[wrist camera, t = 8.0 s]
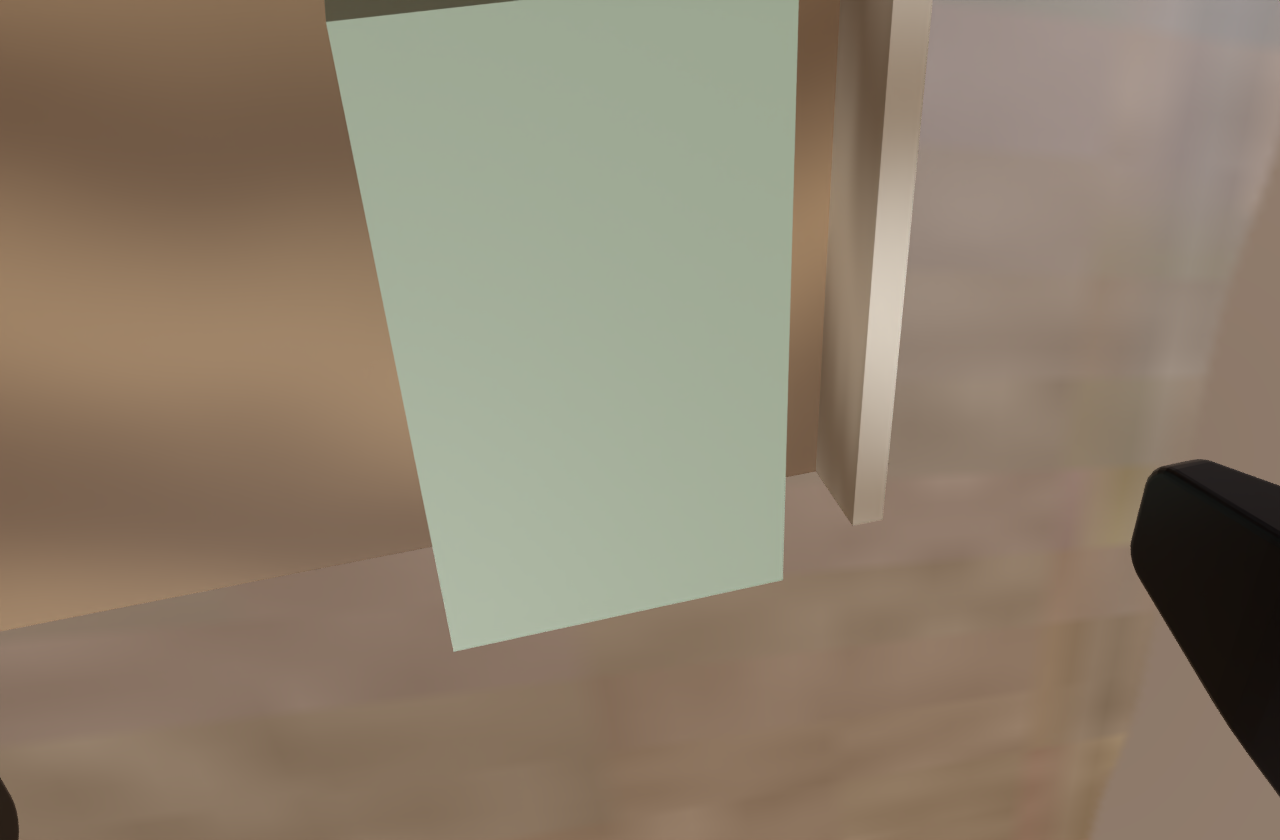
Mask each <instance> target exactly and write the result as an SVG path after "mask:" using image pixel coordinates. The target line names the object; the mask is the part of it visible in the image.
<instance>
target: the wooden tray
mask: <svg viewBox="0 0 1280 840" xmlns="http://www.w3.org/2000/svg"><path fill="white" fill-rule="evenodd" d="M932 1H933V0H799V11H798V47H797V83H796V119H795V155H794V191H793V227H792V263H791V299H790V335H789V371H788V407H787V444H786V477H789V476H794V475H799V474H804V473H810V472H815V471H816V472H817V474H818V475H819V477H820V478H821V480H822V481H823V483H824V484H825V486H826V487H827V488H828V490H829V491H830V493H831V494H832V496H833V497H834V499H835V500H836V502H837V503H838V505H839V506H840V508H841V509H842V511H843V512H844V514H845V515H846V517H847V518H848V520H849V521H850V523H851V524H852V526H854V525H859V524H864V523H869V522H873V521H878V520H883V510H884V499H885V489H886V479H887V468H888V458H889V447H890V437H891V427H892V416H893V406H894V396H895V385H896V375H897V364H898V354H899V344H900V333H901V323H902V313H903V302H904V292H905V281H906V271H907V261H908V250H909V240H910V229H911V219H912V209H913V198H914V188H915V178H916V167H917V157H918V146H919V136H920V126H921V115H922V105H923V95H924V84H925V74H926V63H927V53H928V43H929V32H930V22H931V12H932ZM427 547H432V542H431V537H430V532H429V527H428V522H427V517H426V513H425V508H424V503H423V498H422V493H421V488H420V483H419V478H418V473H417V468H416V463H415V458H414V453H413V448H412V444H411V439H410V434H409V429H408V424H407V419H406V414H405V409H404V404H403V399H402V394H401V389H400V384H399V379H398V375H397V370H396V365H395V360H394V355H393V350H392V345H391V340H390V335H389V330H388V325H387V320H386V315H385V311H384V306H383V301H382V296H381V291H380V286H379V281H378V276H377V271H376V266H375V261H374V256H373V251H372V246H371V242H370V237H369V232H368V227H367V222H366V217H365V212H364V207H363V202H362V197H361V192H360V187H359V182H358V177H357V173H356V168H355V163H354V158H353V153H352V148H351V143H350V138H349V133H348V128H347V123H346V118H345V113H344V108H343V104H342V99H341V94H340V89H339V84H338V79H337V74H336V69H335V64H334V59H333V54H332V49H331V44H330V40H329V35H328V30H327V25H326V16H325V2H324V0H0V631H5V630H10V629H15V628H20V627H25V626H30V625H35V624H40V623H45V622H51V621H56V620H61V619H66V618H71V617H76V616H81V615H86V614H91V613H96V612H101V611H107V610H112V609H117V608H122V607H127V606H132V605H137V604H142V603H147V602H152V601H157V600H163V599H168V598H173V597H178V596H183V595H188V594H193V593H198V592H203V591H208V590H214V589H219V588H224V587H229V586H234V585H239V584H244V583H249V582H254V581H259V580H264V579H270V578H275V577H280V576H285V575H290V574H295V573H300V572H305V571H310V570H315V569H321V568H326V567H331V566H336V565H341V564H346V563H351V562H356V561H361V560H366V559H371V558H377V557H382V556H387V555H392V554H397V553H402V552H407V551H412V550H417V549H422V548H427Z"/></svg>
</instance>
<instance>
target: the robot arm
mask: <svg viewBox="0 0 1280 840" xmlns="http://www.w3.org/2000/svg"><path fill="white" fill-rule="evenodd" d="M1131 558H1132V563H1133V566H1134V568H1135V571H1136V573H1137V575H1138V577H1139V579H1140V580H1141V582H1142V584H1143V585H1144V587H1145V589H1146V590H1147V592H1148V594H1149V596H1150V597H1151V599H1152V601H1153V602H1154V604H1155V606H1156V607H1157V609H1158V611H1159V612H1160V614H1161V616H1162V617H1163V619H1164V621H1165V622H1166V624H1167V626H1168V627H1169V629H1170V630H1171V632H1172V634H1173V636H1174V637H1175V639H1176V641H1177V642H1178V644H1179V646H1180V647H1181V649H1182V651H1183V652H1184V654H1185V656H1186V657H1187V659H1188V661H1189V662H1190V664H1191V666H1192V667H1193V669H1194V670H1195V672H1196V674H1197V676H1198V677H1199V679H1200V681H1201V682H1202V684H1203V686H1204V688H1205V689H1206V691H1207V693H1208V694H1209V696H1210V698H1211V699H1212V701H1213V702H1214V704H1215V706H1216V707H1217V709H1218V710H1219V712H1220V714H1221V715H1222V717H1223V718H1224V720H1225V721H1226V723H1227V725H1228V726H1229V728H1230V729H1231V731H1232V732H1233V733H1234V735H1235V736H1236V737H1237V739H1238V740H1239V742H1240V743H1241V745H1242V746H1243V748H1244V749H1245V750H1246V752H1247V753H1248V755H1249V756H1250V757H1251V759H1252V760H1253V761H1254V763H1255V764H1256V765H1257V767H1258V768H1259V770H1260V771H1261V772H1262V774H1263V775H1264V776H1265V778H1266V779H1267V780H1268V782H1269V783H1270V784H1271V786H1272V787H1273V788H1274V790H1275V791H1276V792H1277V794H1278V795H1279V796H1280V486H1279V485H1276V484H1273V483H1270V482H1268V481H1265V480H1262V479H1259V478H1256V477H1254V476H1251V475H1248V474H1245V473H1242V472H1240V471H1237V470H1234V469H1231V468H1229V467H1226V466H1223V465H1220V464H1217V463H1215V462H1212V461H1209V460H1202V459H1196V460H1190V461H1185V462H1180V463H1176V464H1171V465H1166V466H1162V467H1159V468H1158V469H1156V470H1154V471H1153V473H1152V474H1151V475H1150V476H1149V478H1148V479H1147V482H1146V485H1145V489H1144V493H1143V497H1142V500H1141V504H1140V508H1139V512H1138V516H1137V520H1136V524H1135V528H1134V532H1133V536H1132V540H1131ZM18 839H19V825H18V817H17V811H16V808H15V805H14V802H13V799H12V797H11V795H10V794H9V792H8V790H7V788H6V787H5V785H4V783H3V781H2V780H1V778H0V840H18Z"/></svg>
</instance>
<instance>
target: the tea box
mask: <svg viewBox="0 0 1280 840" xmlns="http://www.w3.org/2000/svg"><path fill="white" fill-rule="evenodd" d="M324 2H325V16H326V25H327V30H328V35H329V40H330V44H331V49H332V54H333V59H334V64H335V69H336V74H337V79H338V84H339V89H340V94H341V99H342V104H343V108H344V113H345V118H346V123H347V128H348V133H349V138H350V143H351V148H352V153H353V158H354V163H355V168H356V173H357V177H358V182H359V187H360V192H361V197H362V202H363V207H364V212H365V217H366V222H367V227H368V232H369V237H370V242H371V246H372V251H373V256H374V261H375V266H376V271H377V276H378V281H379V286H380V291H381V296H382V301H383V306H384V311H385V315H386V320H387V325H388V330H389V335H390V340H391V345H392V350H393V355H394V360H395V365H396V370H397V375H398V379H399V384H400V389H401V394H402V399H403V404H404V409H405V414H406V419H407V424H408V429H409V434H410V439H411V444H412V448H413V453H414V458H415V463H416V468H417V473H418V478H419V483H420V488H421V493H422V498H423V503H424V508H425V513H426V517H427V522H428V527H429V532H430V537H431V542H432V547H433V552H434V557H435V562H436V567H437V572H438V577H439V582H440V586H441V591H442V596H443V601H444V606H445V611H446V616H447V621H448V626H449V631H450V636H451V641H452V646H453V650H454V652H455V651H459V650H464V649H468V648H473V647H478V646H482V645H487V644H491V643H496V642H501V641H505V640H510V639H514V638H519V637H523V636H528V635H533V634H537V633H542V632H546V631H551V630H556V629H560V628H565V627H569V626H574V625H579V624H583V623H588V622H592V621H597V620H601V619H606V618H611V617H615V616H620V615H624V614H629V613H634V612H638V611H643V610H647V609H652V608H657V607H661V606H666V605H670V604H675V603H679V602H684V601H689V600H693V599H698V598H702V597H707V596H712V595H716V594H721V593H725V592H730V591H735V590H739V589H744V588H748V587H753V586H757V585H762V584H767V583H771V582H776V581H780V580H783V552H784V516H785V480H786V444H787V407H788V371H789V335H790V299H791V263H792V227H793V191H794V155H795V119H796V83H797V47H798V11H799V0H324Z"/></svg>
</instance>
